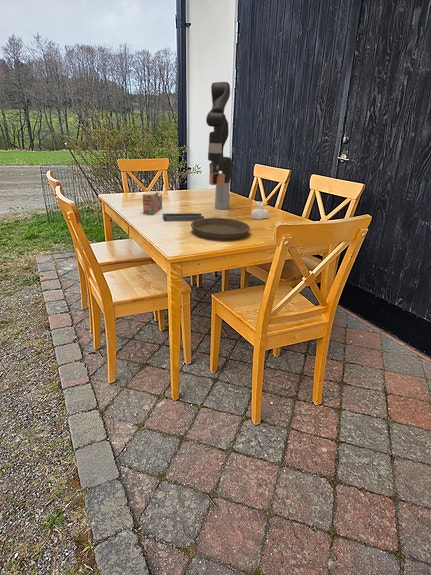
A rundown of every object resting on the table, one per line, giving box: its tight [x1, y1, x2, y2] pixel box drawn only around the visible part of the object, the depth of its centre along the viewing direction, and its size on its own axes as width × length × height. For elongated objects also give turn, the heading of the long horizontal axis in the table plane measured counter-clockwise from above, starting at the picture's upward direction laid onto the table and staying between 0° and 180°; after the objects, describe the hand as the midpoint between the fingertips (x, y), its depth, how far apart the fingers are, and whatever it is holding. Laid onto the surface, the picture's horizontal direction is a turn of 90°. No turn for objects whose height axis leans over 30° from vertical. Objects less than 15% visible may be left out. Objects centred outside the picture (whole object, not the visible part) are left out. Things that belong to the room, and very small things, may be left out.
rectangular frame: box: [162, 212, 205, 222], centre depth 215 cm, size 23×8×2 cm, turn 104°
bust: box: [250, 200, 270, 220], centre depth 226 cm, size 12×8×11 cm
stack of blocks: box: [142, 190, 163, 216], centre depth 229 cm, size 21×6×12 cm, turn 173°
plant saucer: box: [190, 217, 251, 241], centre depth 192 cm, size 31×31×5 cm
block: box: [208, 172, 225, 186], centre depth 213 cm, size 8×4×6 cm, turn 105°
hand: (213, 182), depth 213 cm, fingers closed on block, 4 cm apart
